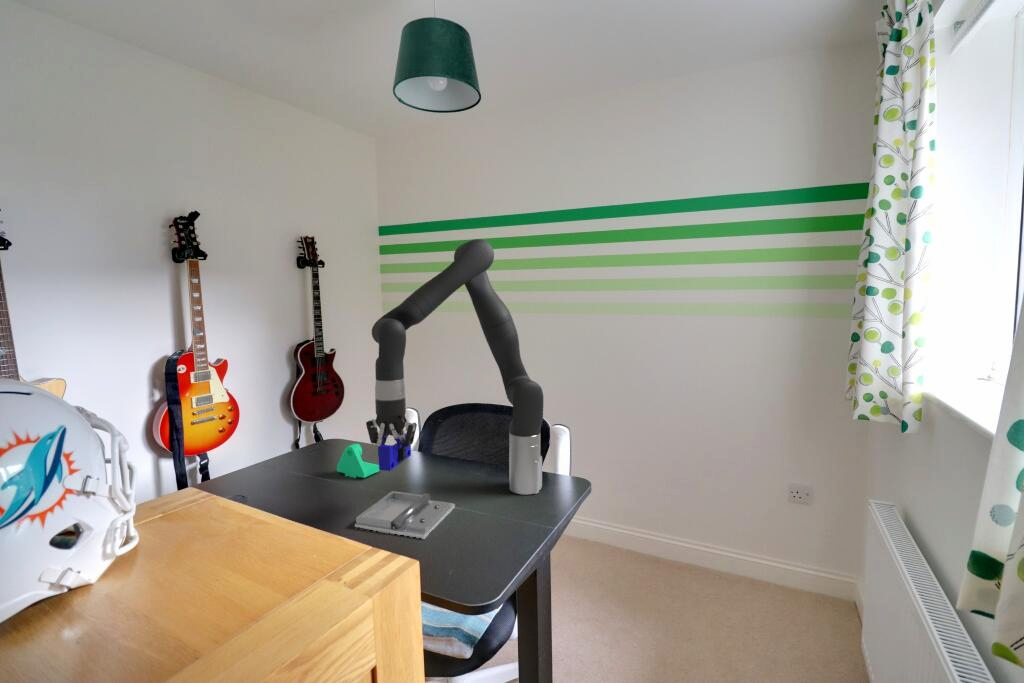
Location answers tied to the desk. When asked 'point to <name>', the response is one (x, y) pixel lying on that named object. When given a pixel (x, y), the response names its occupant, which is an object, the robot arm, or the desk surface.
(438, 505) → the hinge plate
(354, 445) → the camera mount
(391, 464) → the blue stepped long block
